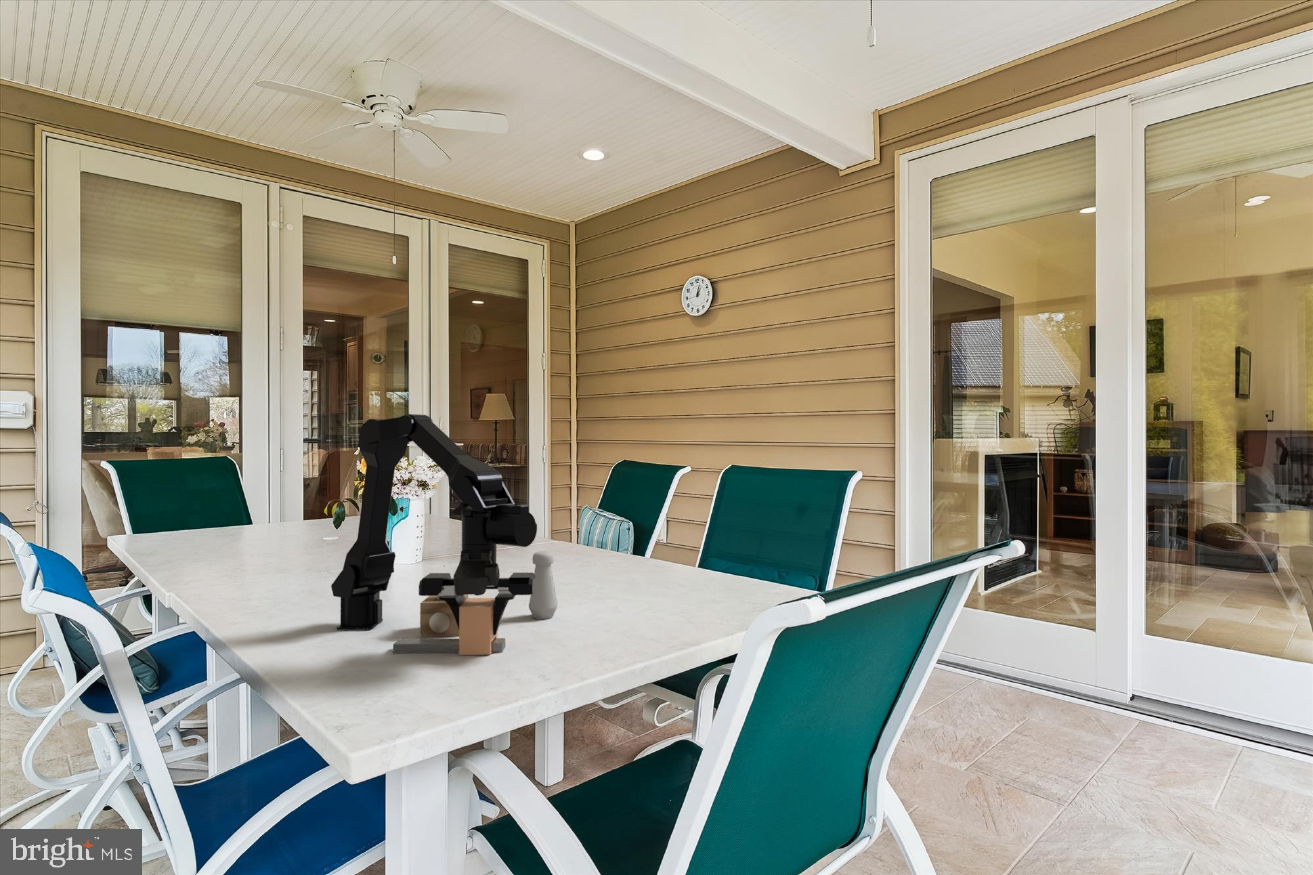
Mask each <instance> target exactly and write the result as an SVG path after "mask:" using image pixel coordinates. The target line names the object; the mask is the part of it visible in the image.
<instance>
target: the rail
mask: <svg viewBox="0 0 1313 875" xmlns="http://www.w3.org/2000/svg"><path fill="white" fill-rule="evenodd" d="M505 648H506V637H497V638H494V639H493V641H492V642H491V653H503V651H504V650H505ZM392 653H393V654H435V653H436V654H441V653H442V654H445V653H446V654H447V653H448V654H450V653H451V654H454V653H455V654H456V653H457V654H459V638H399V639H397V640H396V641H395V642H394V643H393V645H392Z"/></svg>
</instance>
